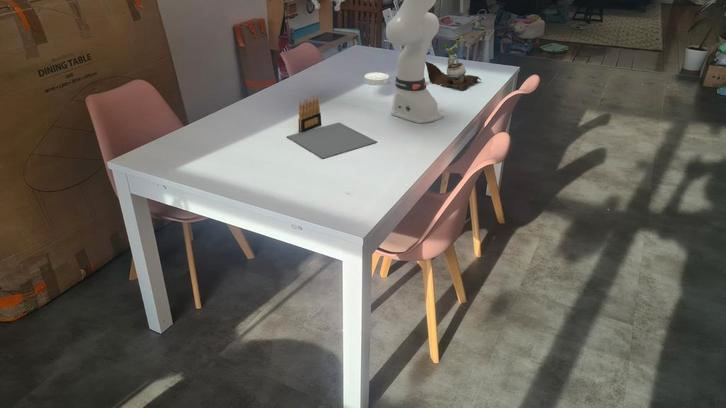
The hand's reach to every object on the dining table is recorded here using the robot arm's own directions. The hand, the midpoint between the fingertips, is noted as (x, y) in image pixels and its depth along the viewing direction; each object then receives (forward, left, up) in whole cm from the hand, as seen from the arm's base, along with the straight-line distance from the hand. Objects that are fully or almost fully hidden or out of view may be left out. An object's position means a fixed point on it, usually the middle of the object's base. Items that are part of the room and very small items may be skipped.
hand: (327, 9), depth 217 cm
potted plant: (-17, -61, -38) cm, 74 cm away
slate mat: (-40, +27, -38) cm, 61 cm away
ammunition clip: (-25, +27, -38) cm, 53 cm away
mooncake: (+7, -32, -38) cm, 50 cm away
